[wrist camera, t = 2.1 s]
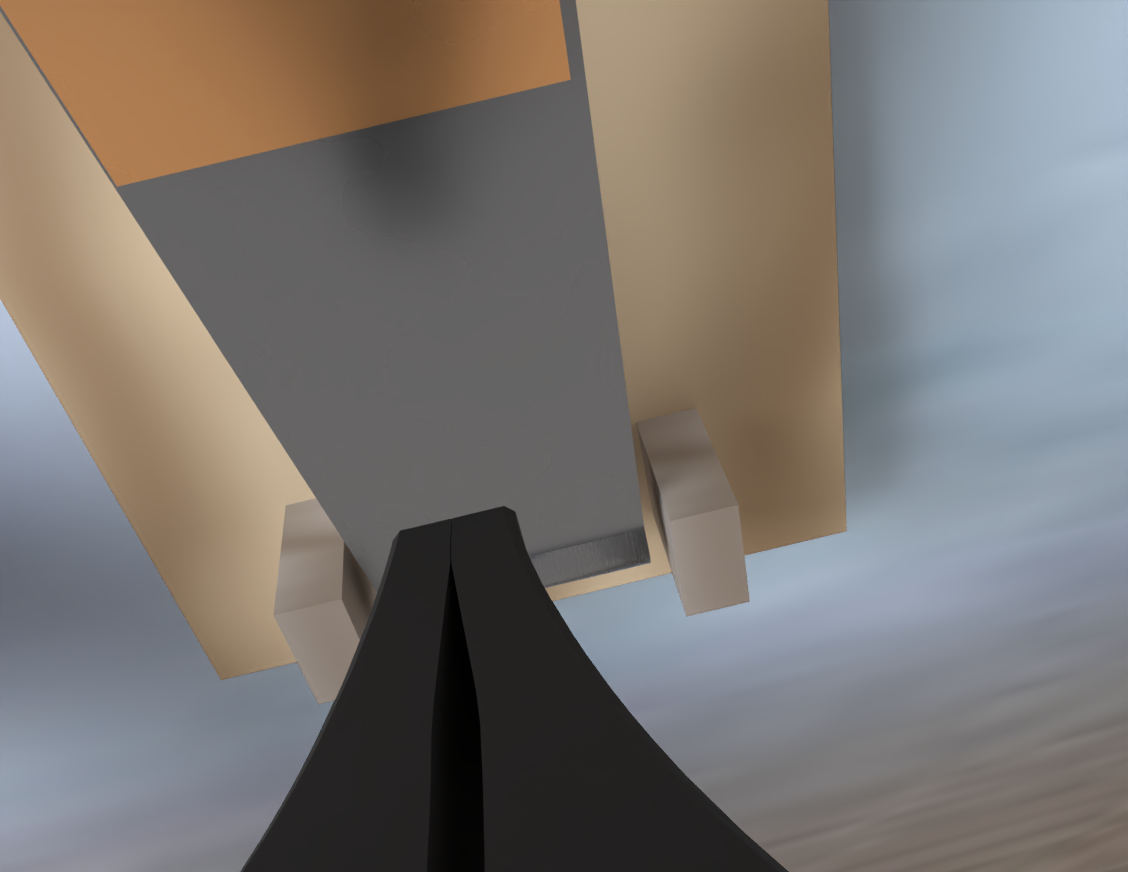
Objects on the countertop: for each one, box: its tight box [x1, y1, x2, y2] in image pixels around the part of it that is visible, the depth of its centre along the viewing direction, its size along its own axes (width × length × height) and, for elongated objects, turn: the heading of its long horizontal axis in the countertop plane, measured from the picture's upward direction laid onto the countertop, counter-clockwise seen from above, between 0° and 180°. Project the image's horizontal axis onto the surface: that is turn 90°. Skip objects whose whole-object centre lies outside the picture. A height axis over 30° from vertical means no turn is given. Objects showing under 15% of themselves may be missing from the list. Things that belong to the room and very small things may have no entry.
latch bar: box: [0, 0, 651, 592], centre depth 14 cm, size 5×16×2 cm, turn 11°
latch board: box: [0, 0, 847, 704], centre depth 16 cm, size 14×22×5 cm, turn 11°
